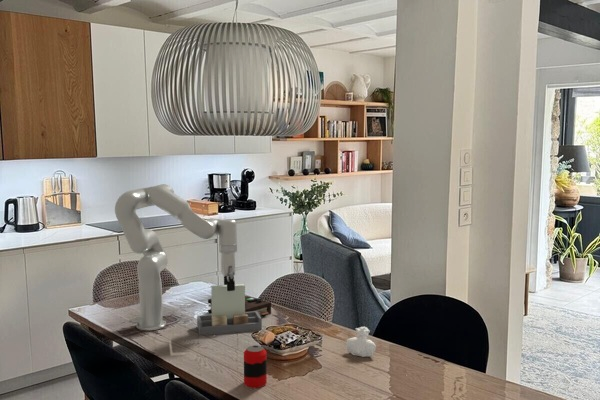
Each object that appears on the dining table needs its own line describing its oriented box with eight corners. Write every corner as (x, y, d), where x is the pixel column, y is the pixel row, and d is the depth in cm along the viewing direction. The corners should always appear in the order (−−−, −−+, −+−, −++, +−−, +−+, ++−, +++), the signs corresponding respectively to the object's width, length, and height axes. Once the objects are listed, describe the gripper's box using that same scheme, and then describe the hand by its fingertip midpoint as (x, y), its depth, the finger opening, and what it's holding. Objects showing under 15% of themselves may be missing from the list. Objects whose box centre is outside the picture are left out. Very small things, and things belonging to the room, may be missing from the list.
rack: (199, 337, 232) (199, 323, 232) (197, 329, 242) (197, 315, 242) (261, 332, 239) (261, 318, 238) (257, 324, 249) (256, 311, 249)
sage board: (212, 328, 240) (212, 287, 238) (211, 326, 242) (211, 285, 241) (245, 326, 244) (244, 285, 242) (244, 324, 246) (243, 283, 244)
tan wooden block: (234, 330, 237) (234, 317, 237) (233, 328, 240) (232, 314, 240) (248, 329, 239) (248, 315, 238) (247, 327, 242) (246, 313, 241)
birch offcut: (212, 332, 235) (212, 318, 234) (211, 330, 238) (211, 316, 237) (226, 331, 237) (226, 317, 236) (226, 329, 240) (225, 315, 239)
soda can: (266, 378, 192) (266, 344, 191) (266, 388, 185) (266, 352, 184) (244, 378, 192) (244, 344, 191) (243, 388, 185) (243, 352, 183)
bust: (376, 362, 213) (383, 334, 218) (370, 355, 207) (377, 326, 212) (346, 356, 218) (354, 329, 223) (340, 349, 213) (348, 321, 218)
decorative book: (233, 289, 280) (276, 301, 260) (233, 304, 281) (276, 317, 261) (202, 297, 266) (245, 310, 246) (202, 312, 267) (245, 326, 247)
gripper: (216, 245, 247) (218, 283, 249) (221, 252, 230) (223, 293, 232) (233, 244, 249) (235, 282, 251) (240, 251, 232) (241, 292, 234)
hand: (229, 287), depth 241 cm, fingers open, 9 cm apart
